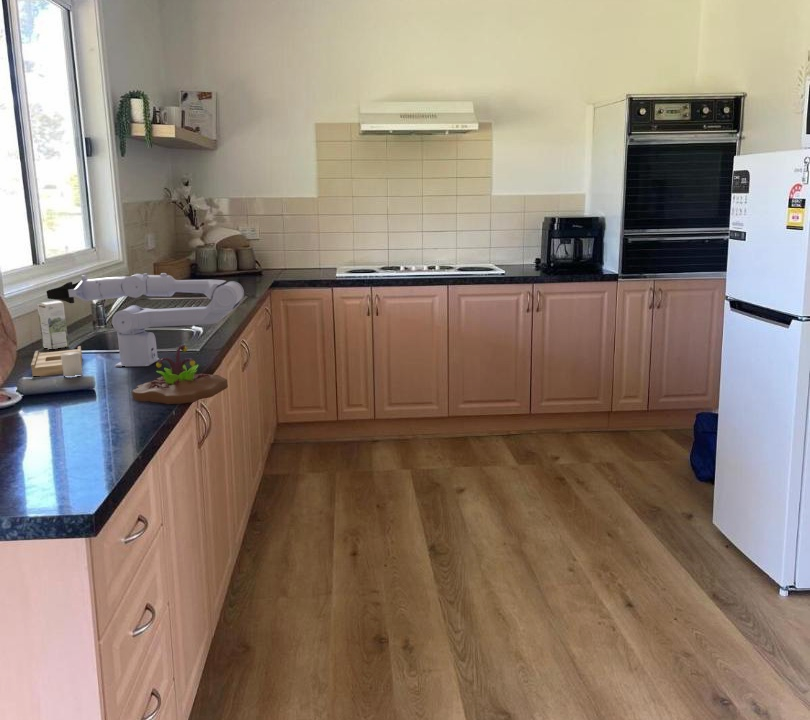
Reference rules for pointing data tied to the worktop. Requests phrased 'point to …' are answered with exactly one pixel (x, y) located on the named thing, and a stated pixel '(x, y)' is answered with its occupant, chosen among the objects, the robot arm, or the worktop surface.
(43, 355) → the jig plate
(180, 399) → the plant
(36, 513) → the worktop surface
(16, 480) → the worktop surface
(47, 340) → the syrup box
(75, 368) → the cream small block
